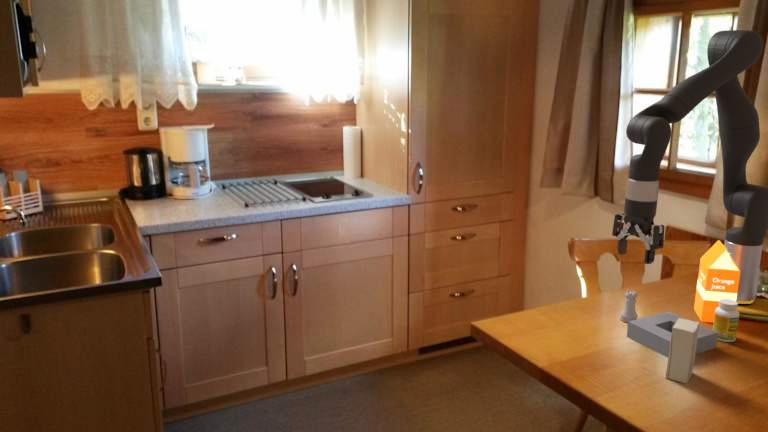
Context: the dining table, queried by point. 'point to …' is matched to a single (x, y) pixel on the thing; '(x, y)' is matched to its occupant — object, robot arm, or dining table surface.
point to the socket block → (665, 333)
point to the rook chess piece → (629, 307)
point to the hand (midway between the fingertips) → (634, 258)
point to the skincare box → (682, 350)
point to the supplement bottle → (726, 320)
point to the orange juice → (715, 281)
